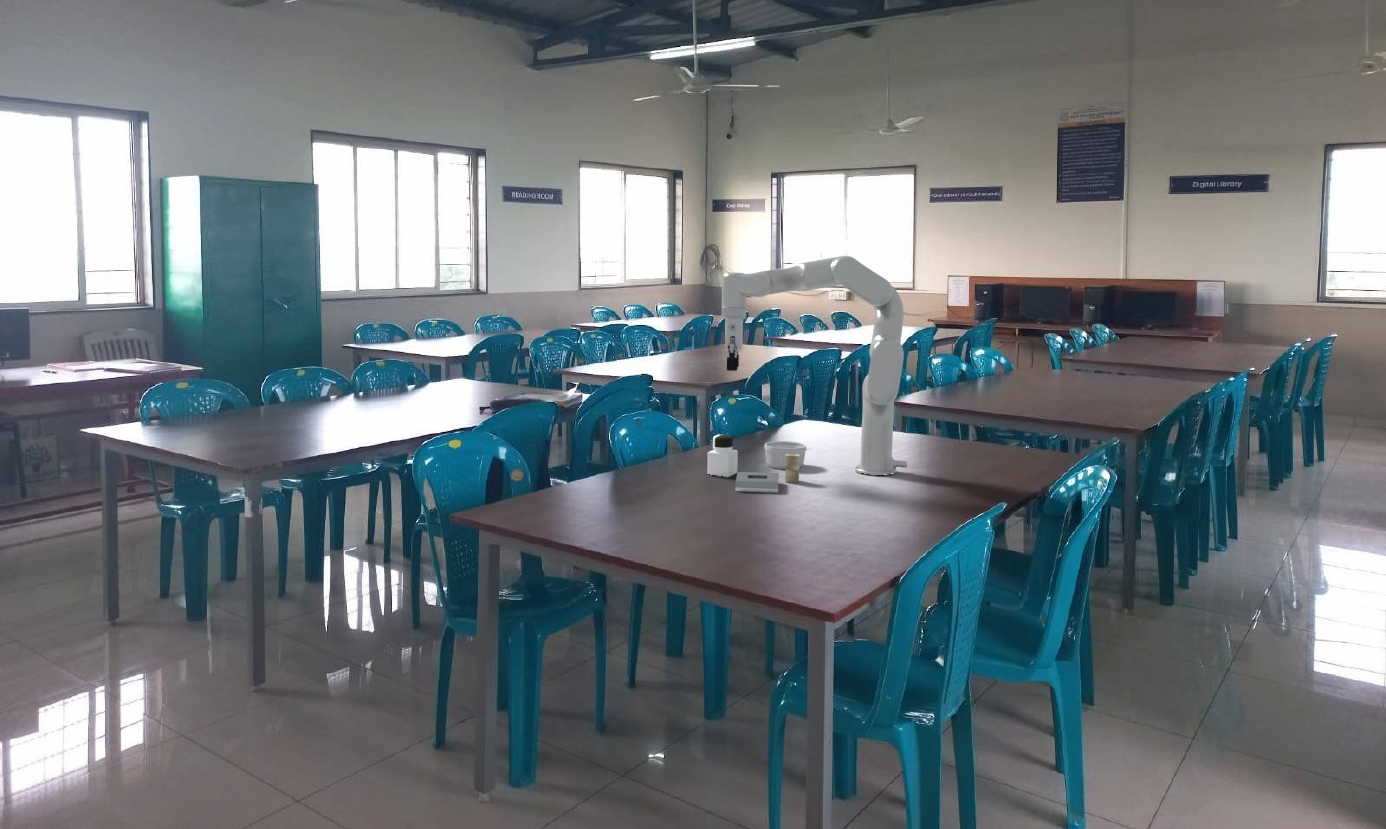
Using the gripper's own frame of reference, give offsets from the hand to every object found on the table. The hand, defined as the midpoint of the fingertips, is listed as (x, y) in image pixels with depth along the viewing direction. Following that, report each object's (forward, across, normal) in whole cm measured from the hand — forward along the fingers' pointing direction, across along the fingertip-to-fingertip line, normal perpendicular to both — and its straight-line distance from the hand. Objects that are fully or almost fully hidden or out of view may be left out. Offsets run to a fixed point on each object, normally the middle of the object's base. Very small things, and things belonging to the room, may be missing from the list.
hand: (732, 368), depth 318 cm
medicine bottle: (+31, -10, +2) cm, 33 cm away
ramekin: (+32, +5, -17) cm, 36 cm away
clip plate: (+31, -26, -9) cm, 41 cm away
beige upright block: (+31, -17, -19) cm, 40 cm away
